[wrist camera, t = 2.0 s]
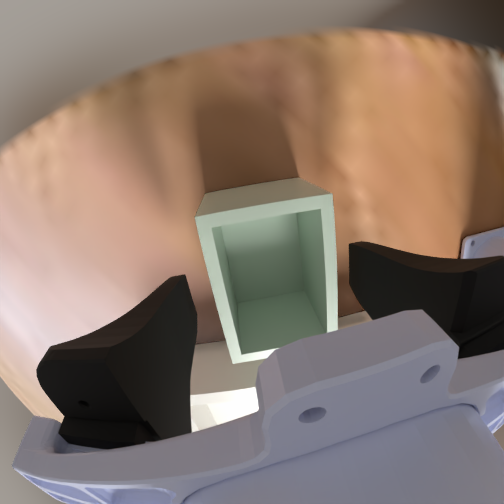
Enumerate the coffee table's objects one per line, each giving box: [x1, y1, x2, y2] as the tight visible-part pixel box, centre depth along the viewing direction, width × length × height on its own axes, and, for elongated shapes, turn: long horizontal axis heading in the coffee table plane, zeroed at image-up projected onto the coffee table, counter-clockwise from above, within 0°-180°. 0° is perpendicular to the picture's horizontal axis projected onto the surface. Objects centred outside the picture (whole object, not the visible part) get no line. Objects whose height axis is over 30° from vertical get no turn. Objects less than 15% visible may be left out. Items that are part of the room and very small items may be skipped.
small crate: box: [195, 177, 338, 364], centre depth 13 cm, size 5×7×5 cm
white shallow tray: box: [190, 311, 372, 432], centre depth 19 cm, size 14×16×4 cm
